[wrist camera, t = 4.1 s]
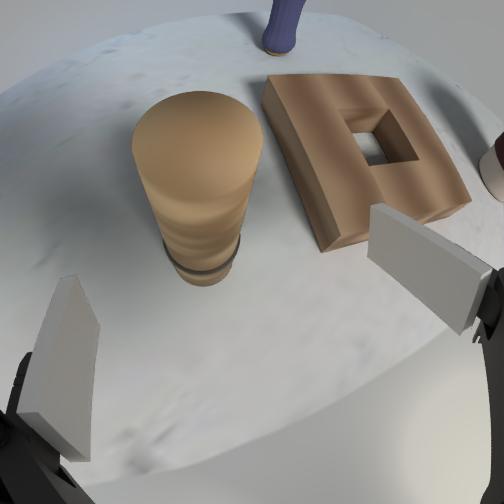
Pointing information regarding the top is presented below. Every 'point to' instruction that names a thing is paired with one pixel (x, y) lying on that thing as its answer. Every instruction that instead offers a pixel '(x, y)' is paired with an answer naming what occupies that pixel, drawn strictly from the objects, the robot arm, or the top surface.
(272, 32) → the rubber mallet
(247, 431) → the top surface
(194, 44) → the top surface
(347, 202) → the walnut socket block
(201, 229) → the oak peg
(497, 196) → the coffee cup
